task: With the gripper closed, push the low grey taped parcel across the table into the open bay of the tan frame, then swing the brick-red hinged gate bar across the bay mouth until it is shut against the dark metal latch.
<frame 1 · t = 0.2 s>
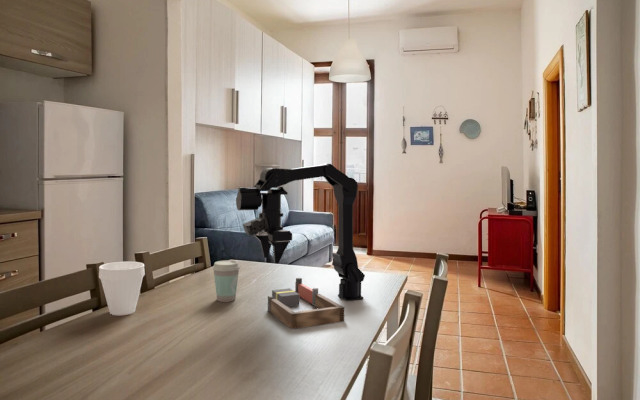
hand: (271, 260, 146), 14 cm above the table, fingers open, 9 cm apart
coffee cup: (226, 300, 154), on the table
grey taped parcel: (285, 303, 152), on the table
gate: (306, 290, 155), point 3 cm above the table, hinge at -90.0°
tan frame: (303, 315, 139), on the table
cup: (122, 312, 139), on the table
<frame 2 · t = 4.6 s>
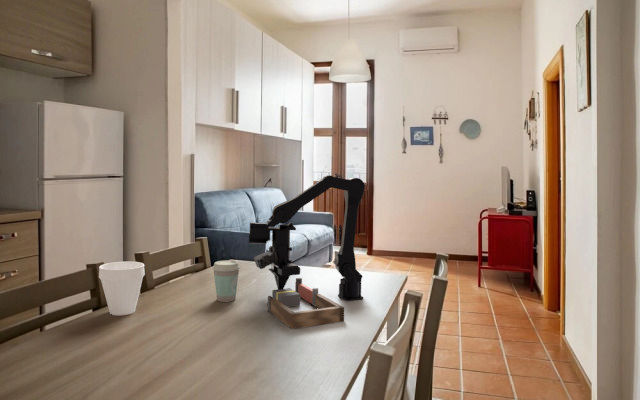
hand: (280, 291, 155), 3 cm above the table, fingers closed
grey taped parcel: (285, 303, 151), on the table, touching gripper
everything else where it was.
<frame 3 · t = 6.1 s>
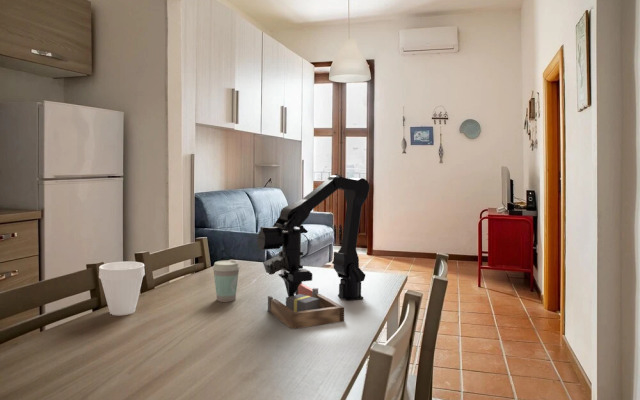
hand: (290, 298, 148), 3 cm above the table, fingers closed
grey taped parcel: (302, 309, 144), on the table, touching gripper
everything else where it was.
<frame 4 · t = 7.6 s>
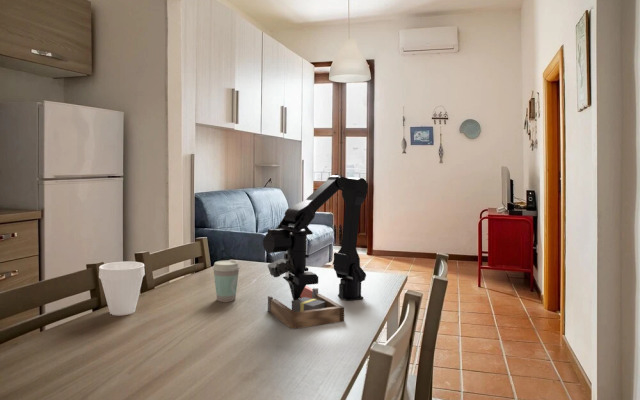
hand: (295, 301, 144), 3 cm above the table, fingers closed
grey taped parcel: (308, 313, 141), on the table, touching tan frame, gripper
everything else where it was.
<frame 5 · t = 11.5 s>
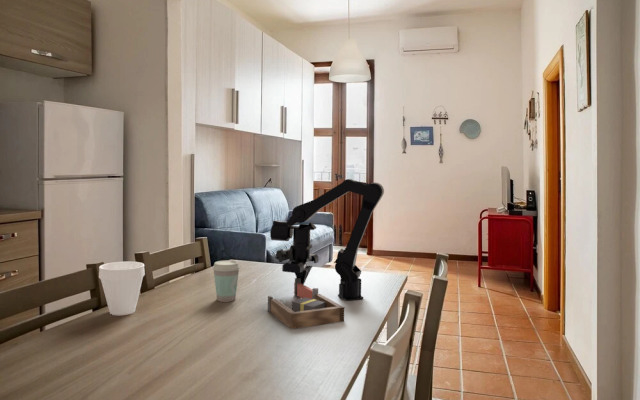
hand: (300, 287, 163), 2 cm above the table, fingers closed
grey taped parcel: (308, 313, 141), on the table
gate: (305, 290, 155), point 3 cm above the table, hinge at -88.2°, touching gripper
everything else where it was.
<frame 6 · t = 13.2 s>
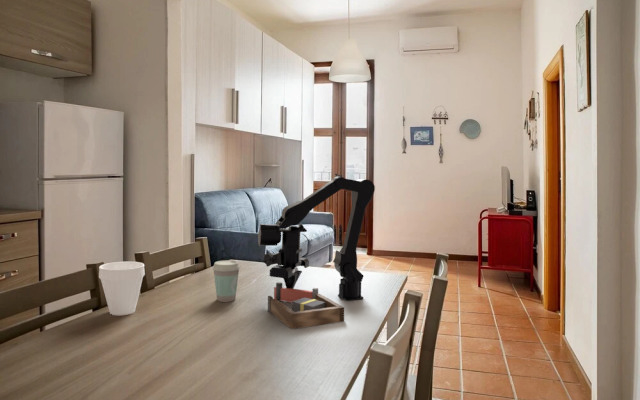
hand: (289, 293, 154), 2 cm above the table, fingers closed
gate: (296, 293, 151), point 3 cm above the table, hinge at -48.6°, touching gripper
everything else where it was.
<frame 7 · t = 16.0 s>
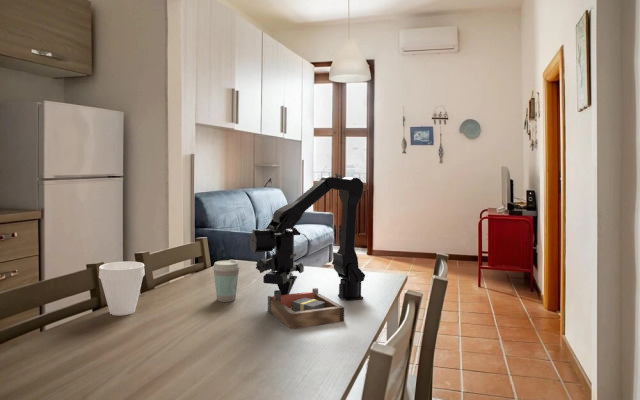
hand: (284, 300, 148), 2 cm above the table, fingers closed
gate: (295, 298, 146), point 3 cm above the table, hinge at -0.7°
everything else where it was.
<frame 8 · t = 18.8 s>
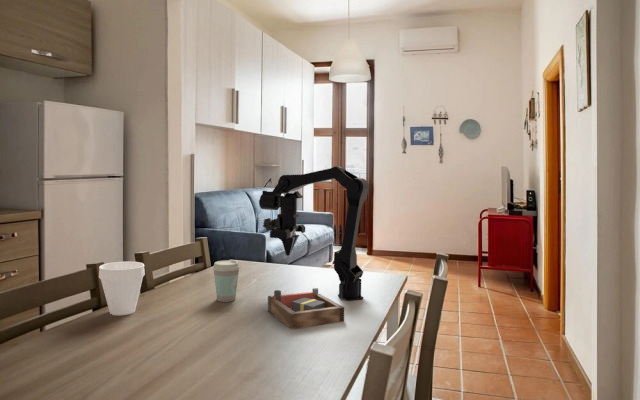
hand: (288, 255, 167), 12 cm above the table, fingers closed
nothing on the table moved.
at the end: grey taped parcel inside the target area on the tan frame (3.3 cm from its centre), point 0.0 cm above the tan frame's base; grey taped parcel on the table; gate at -1° (first picture: -90°) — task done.
